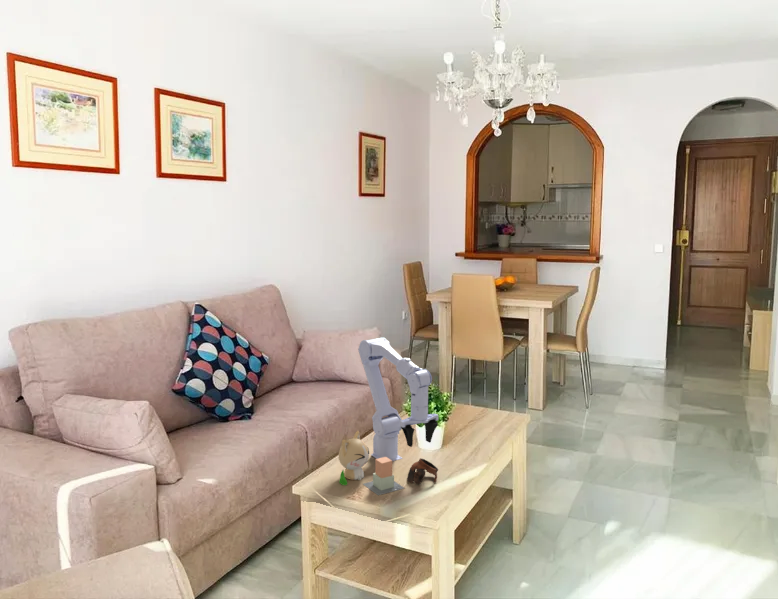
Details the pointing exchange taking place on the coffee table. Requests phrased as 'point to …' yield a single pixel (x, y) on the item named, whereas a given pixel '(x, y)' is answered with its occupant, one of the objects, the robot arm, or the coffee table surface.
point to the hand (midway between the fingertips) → (419, 443)
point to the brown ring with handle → (421, 471)
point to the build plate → (380, 492)
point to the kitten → (353, 458)
